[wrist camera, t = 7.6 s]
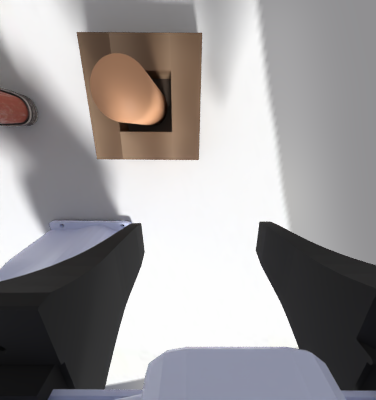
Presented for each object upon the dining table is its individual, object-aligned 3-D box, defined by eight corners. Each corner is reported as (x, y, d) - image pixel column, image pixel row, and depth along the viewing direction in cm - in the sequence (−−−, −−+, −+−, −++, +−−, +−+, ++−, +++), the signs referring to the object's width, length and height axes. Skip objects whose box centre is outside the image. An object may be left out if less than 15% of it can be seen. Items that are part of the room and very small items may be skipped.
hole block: (110, 154, 19) (97, 159, 17) (96, 49, 16) (76, 32, 13) (197, 155, 19) (198, 159, 17) (199, 49, 16) (202, 32, 13)
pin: (135, 126, 18) (97, 124, 11) (130, 88, 17) (83, 55, 9) (169, 124, 18) (154, 120, 10) (165, 85, 17) (146, 50, 9)
